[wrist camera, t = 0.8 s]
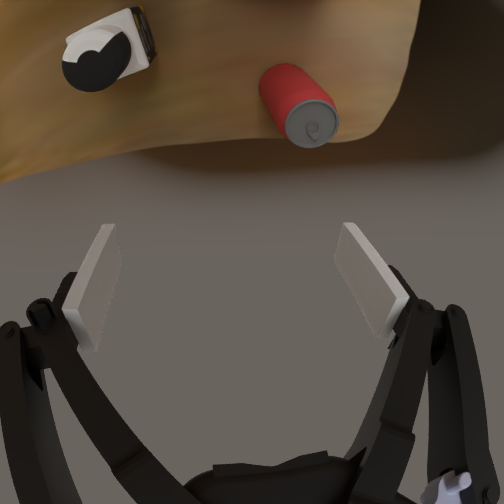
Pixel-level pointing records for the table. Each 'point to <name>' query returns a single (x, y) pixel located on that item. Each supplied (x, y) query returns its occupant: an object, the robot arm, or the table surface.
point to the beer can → (299, 106)
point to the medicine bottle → (108, 50)
